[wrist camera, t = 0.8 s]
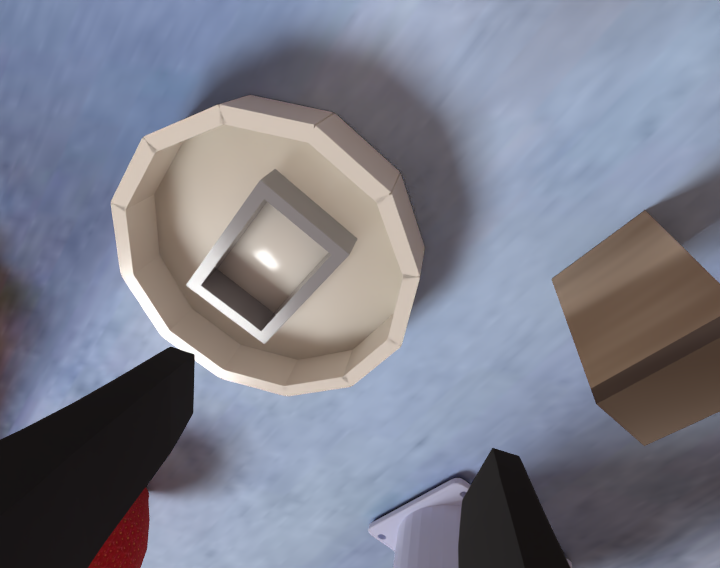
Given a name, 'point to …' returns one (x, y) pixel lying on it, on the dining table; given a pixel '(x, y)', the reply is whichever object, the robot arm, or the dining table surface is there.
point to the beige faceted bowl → (270, 245)
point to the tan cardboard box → (645, 329)
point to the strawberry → (127, 538)
